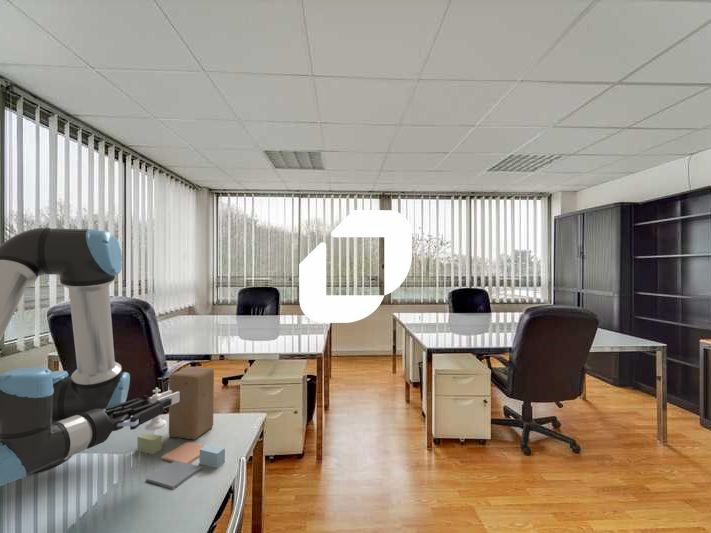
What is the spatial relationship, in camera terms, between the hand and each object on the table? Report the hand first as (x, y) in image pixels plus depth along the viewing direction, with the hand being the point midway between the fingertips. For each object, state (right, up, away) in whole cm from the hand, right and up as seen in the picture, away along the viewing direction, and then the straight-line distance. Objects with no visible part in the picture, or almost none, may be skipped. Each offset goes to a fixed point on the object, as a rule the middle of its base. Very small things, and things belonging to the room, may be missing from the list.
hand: (174, 395), depth 98 cm
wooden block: (-4, -19, +18) cm, 26 cm away
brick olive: (-11, -18, +7) cm, 23 cm away
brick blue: (+10, -19, 0) cm, 21 cm away
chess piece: (-2, -6, -5) cm, 8 cm away
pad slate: (+3, -19, -5) cm, 19 cm away
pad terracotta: (+1, -18, +5) cm, 19 cm away
